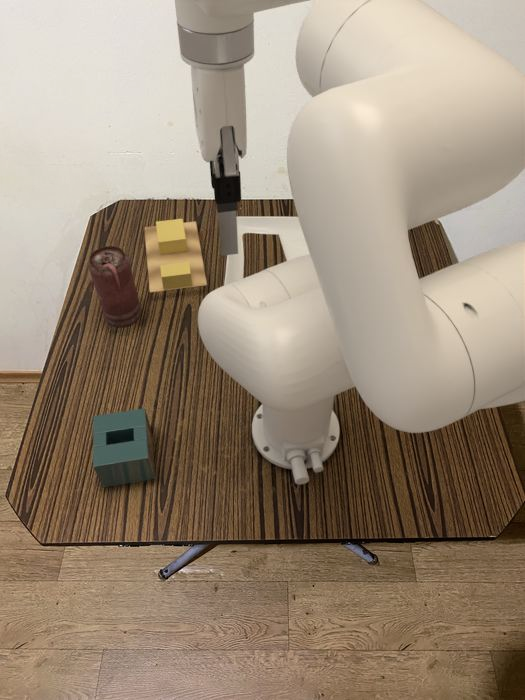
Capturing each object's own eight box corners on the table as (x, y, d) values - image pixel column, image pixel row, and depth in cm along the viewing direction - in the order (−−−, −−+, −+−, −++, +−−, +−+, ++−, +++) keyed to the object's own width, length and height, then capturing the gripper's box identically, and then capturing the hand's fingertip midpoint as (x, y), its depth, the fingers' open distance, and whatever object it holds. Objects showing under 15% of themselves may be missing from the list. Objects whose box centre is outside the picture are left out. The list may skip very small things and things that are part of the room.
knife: (240, 258, 79) (235, 161, 67) (221, 261, 78) (213, 163, 67) (237, 247, 80) (232, 150, 68) (218, 249, 80) (211, 152, 68)
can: (119, 340, 95) (100, 277, 84) (100, 318, 98) (79, 255, 87) (150, 322, 97) (136, 259, 86) (130, 301, 100) (114, 238, 89)
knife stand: (155, 479, 79) (148, 457, 74) (103, 487, 78) (92, 466, 73) (151, 431, 84) (144, 408, 79) (102, 438, 83) (93, 415, 78)
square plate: (386, 336, 95) (390, 320, 92) (220, 334, 95) (219, 318, 92) (370, 231, 112) (373, 214, 109) (229, 229, 112) (229, 213, 109)
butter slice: (192, 286, 100) (190, 273, 98) (163, 289, 100) (161, 277, 98) (190, 274, 102) (189, 261, 100) (162, 278, 102) (160, 265, 99)
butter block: (187, 251, 106) (185, 238, 104) (160, 254, 106) (157, 242, 103) (184, 231, 110) (182, 218, 108) (158, 234, 109) (155, 221, 107)
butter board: (207, 290, 102) (207, 284, 101) (150, 298, 101) (149, 292, 99) (196, 227, 113) (195, 221, 112) (145, 233, 112) (144, 227, 111)
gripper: (172, 10, 62) (189, 161, 76) (187, 79, 52) (203, 239, 66) (241, 4, 63) (245, 155, 77) (268, 71, 53) (268, 231, 67)
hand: (226, 193), depth 71 cm, fingers closed on knife, 2 cm apart
